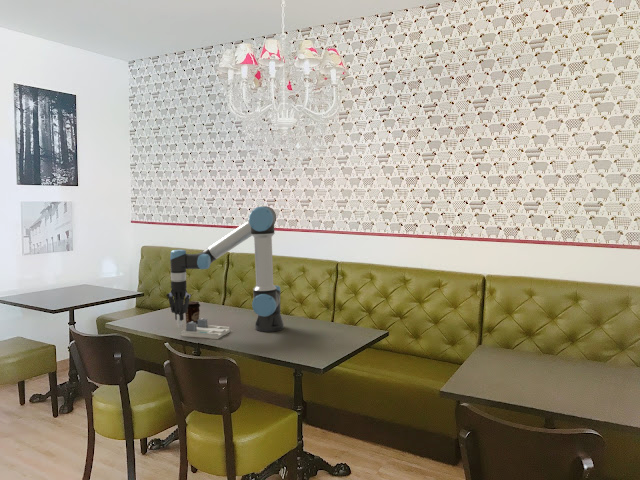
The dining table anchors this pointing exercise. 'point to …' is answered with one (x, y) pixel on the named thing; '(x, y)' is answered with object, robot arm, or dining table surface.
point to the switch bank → (207, 332)
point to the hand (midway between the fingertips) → (179, 326)
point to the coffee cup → (193, 312)
